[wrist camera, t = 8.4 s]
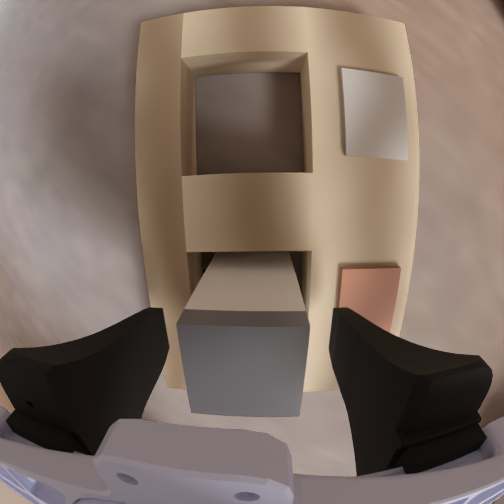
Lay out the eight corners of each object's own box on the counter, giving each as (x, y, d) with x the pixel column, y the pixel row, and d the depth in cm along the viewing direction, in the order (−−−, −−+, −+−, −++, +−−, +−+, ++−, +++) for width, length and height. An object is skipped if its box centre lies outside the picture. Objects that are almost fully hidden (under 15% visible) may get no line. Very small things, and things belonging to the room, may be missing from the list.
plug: (219, 315, 17) (191, 412, 10) (216, 251, 16) (176, 323, 8) (286, 316, 17) (299, 416, 9) (289, 252, 16) (310, 326, 8)
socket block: (179, 359, 18) (166, 390, 15) (160, 42, 13) (138, 19, 10) (372, 356, 18) (387, 386, 14) (383, 42, 12) (406, 21, 9)
